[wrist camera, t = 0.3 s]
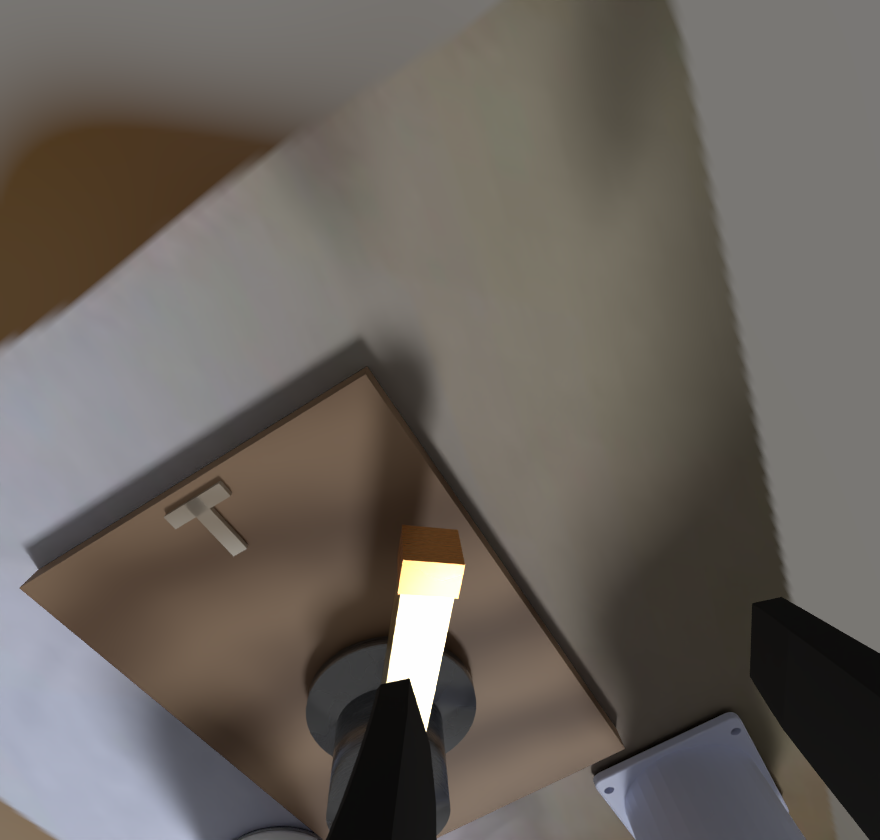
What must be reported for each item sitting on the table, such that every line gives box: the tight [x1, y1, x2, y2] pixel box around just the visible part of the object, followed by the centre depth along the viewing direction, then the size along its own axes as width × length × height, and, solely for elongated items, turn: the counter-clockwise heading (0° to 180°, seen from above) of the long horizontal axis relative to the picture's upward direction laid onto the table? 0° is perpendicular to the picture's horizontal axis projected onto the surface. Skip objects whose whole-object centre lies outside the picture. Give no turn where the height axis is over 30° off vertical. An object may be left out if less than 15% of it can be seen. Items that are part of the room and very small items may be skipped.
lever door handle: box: [306, 525, 476, 835], centre depth 18 cm, size 13×7×4 cm, turn 171°
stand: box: [20, 367, 625, 840], centre depth 22 cm, size 22×15×1 cm
